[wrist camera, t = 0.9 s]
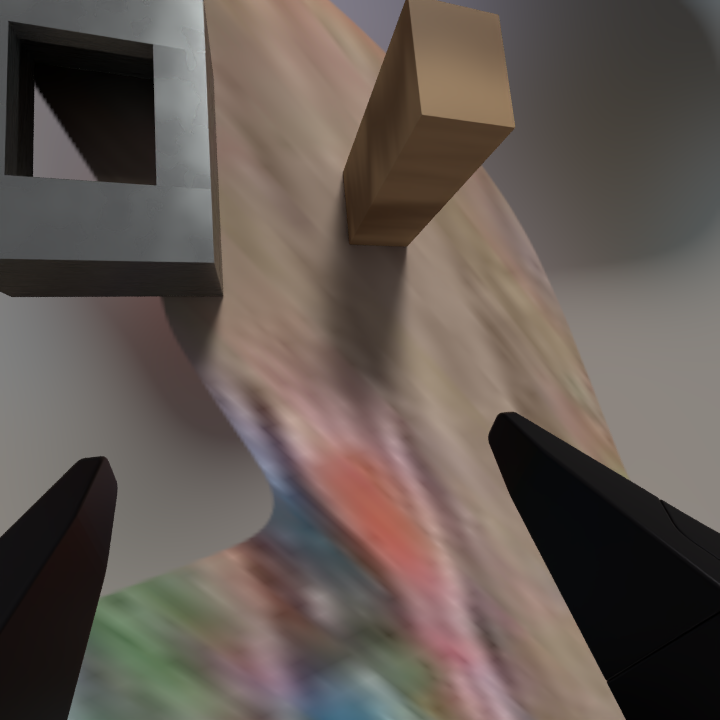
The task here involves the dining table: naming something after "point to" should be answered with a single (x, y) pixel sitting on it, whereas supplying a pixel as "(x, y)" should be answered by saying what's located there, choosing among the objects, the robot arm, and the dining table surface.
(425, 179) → the tan squared block
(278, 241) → the dining table surface
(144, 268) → the grey hollow block
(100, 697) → the dining table surface
